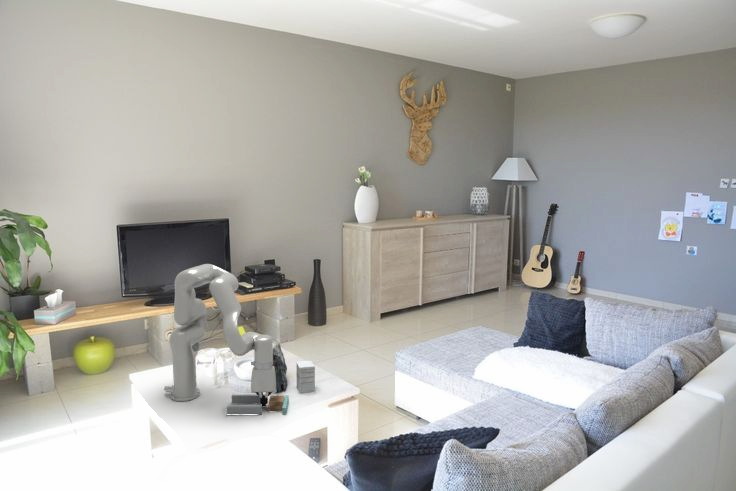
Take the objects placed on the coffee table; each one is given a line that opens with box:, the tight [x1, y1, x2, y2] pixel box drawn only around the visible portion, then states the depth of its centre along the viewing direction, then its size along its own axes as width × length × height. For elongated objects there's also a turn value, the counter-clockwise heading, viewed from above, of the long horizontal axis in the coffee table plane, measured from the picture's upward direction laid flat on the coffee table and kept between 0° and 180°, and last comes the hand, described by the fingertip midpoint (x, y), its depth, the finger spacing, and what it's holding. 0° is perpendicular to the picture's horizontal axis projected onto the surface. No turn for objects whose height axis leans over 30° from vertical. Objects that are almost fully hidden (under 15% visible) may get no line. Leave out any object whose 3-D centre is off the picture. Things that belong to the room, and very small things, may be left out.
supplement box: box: [296, 360, 316, 394], centre depth 238 cm, size 7×7×13 cm
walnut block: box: [268, 394, 285, 412], centre depth 220 cm, size 6×6×4 cm
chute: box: [226, 393, 265, 415], centre depth 219 cm, size 14×12×4 cm
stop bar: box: [281, 394, 290, 416], centre depth 220 cm, size 2×12×3 cm, turn 4°
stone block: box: [273, 341, 288, 393], centre depth 241 cm, size 18×9×20 cm, turn 3°
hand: (264, 405), depth 220 cm, fingers closed
